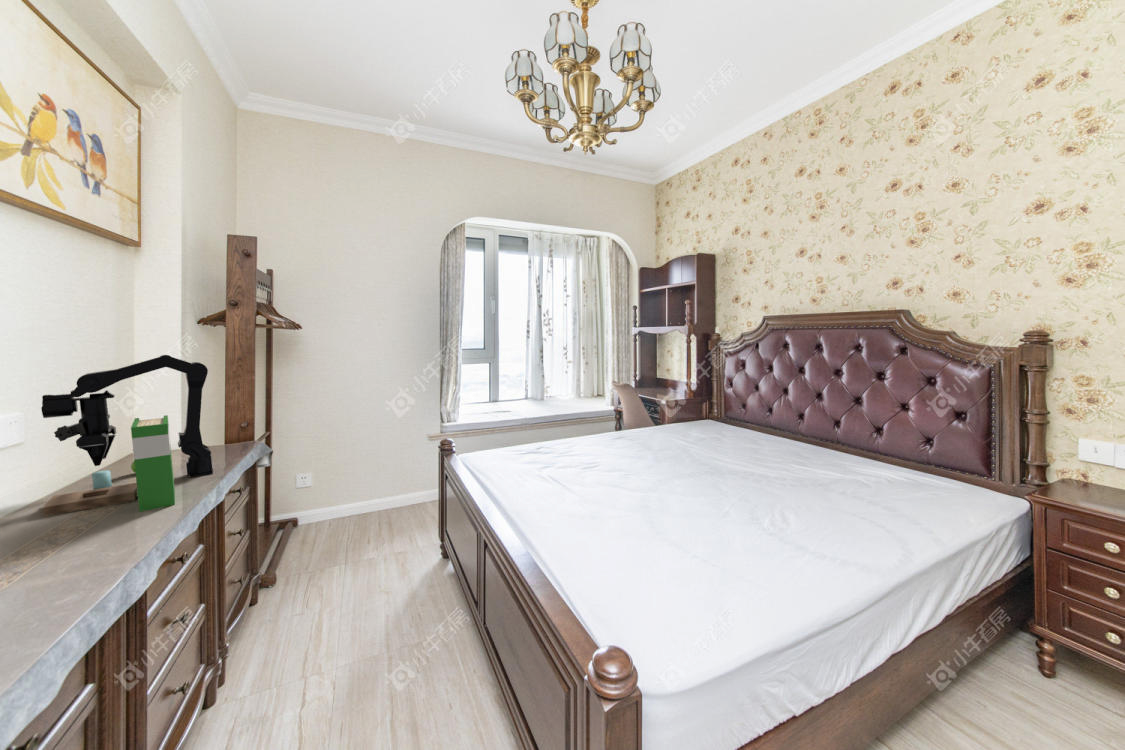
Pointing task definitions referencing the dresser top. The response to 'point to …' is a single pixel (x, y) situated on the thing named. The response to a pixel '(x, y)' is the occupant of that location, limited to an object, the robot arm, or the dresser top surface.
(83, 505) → the rail
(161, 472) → the hardback book
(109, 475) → the teal peg
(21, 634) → the dresser top surface
